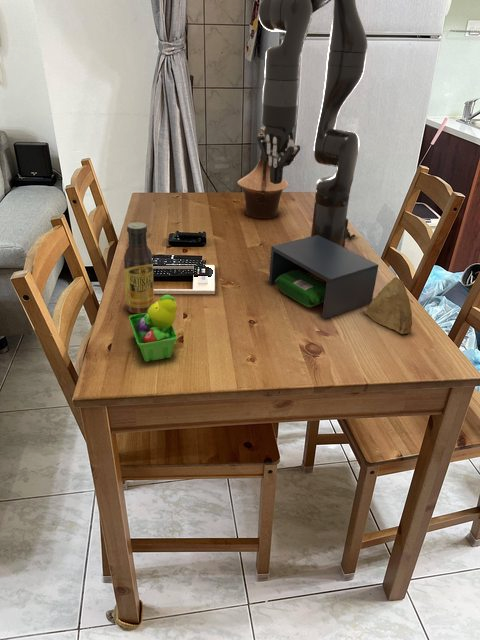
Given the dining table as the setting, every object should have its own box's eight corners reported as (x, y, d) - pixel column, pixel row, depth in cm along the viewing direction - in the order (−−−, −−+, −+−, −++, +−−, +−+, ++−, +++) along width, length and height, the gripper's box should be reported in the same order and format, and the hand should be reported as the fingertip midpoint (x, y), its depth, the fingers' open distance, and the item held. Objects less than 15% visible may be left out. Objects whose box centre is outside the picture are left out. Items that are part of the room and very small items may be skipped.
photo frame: (214, 289, 122) (139, 289, 121) (214, 294, 123) (139, 293, 122) (214, 264, 135) (145, 263, 134) (214, 268, 135) (146, 267, 134)
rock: (427, 327, 108) (414, 299, 116) (411, 301, 104) (398, 274, 111) (380, 349, 112) (370, 321, 120) (363, 325, 108) (354, 297, 115)
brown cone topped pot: (288, 223, 166) (295, 134, 152) (236, 221, 166) (238, 132, 152) (284, 206, 181) (291, 123, 167) (237, 204, 181) (239, 121, 167)
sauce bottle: (131, 317, 112) (123, 232, 102) (123, 305, 117) (114, 222, 107) (159, 311, 115) (154, 228, 105) (150, 299, 120) (145, 218, 109)
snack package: (313, 316, 115) (316, 296, 113) (271, 289, 126) (273, 269, 123) (336, 308, 119) (339, 288, 116) (293, 282, 130) (295, 263, 127)
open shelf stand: (313, 269, 137) (317, 234, 131) (371, 302, 122) (378, 264, 117) (268, 282, 129) (271, 246, 124) (324, 319, 114) (330, 279, 109)
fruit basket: (129, 336, 106) (125, 287, 100) (171, 329, 109) (169, 282, 103) (139, 367, 97) (135, 316, 91) (185, 359, 100) (183, 309, 94)
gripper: (314, 105, 105) (306, 187, 115) (275, 96, 115) (271, 173, 124) (286, 108, 102) (280, 193, 111) (247, 98, 111) (245, 178, 120)
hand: (275, 182), depth 117 cm, fingers closed
